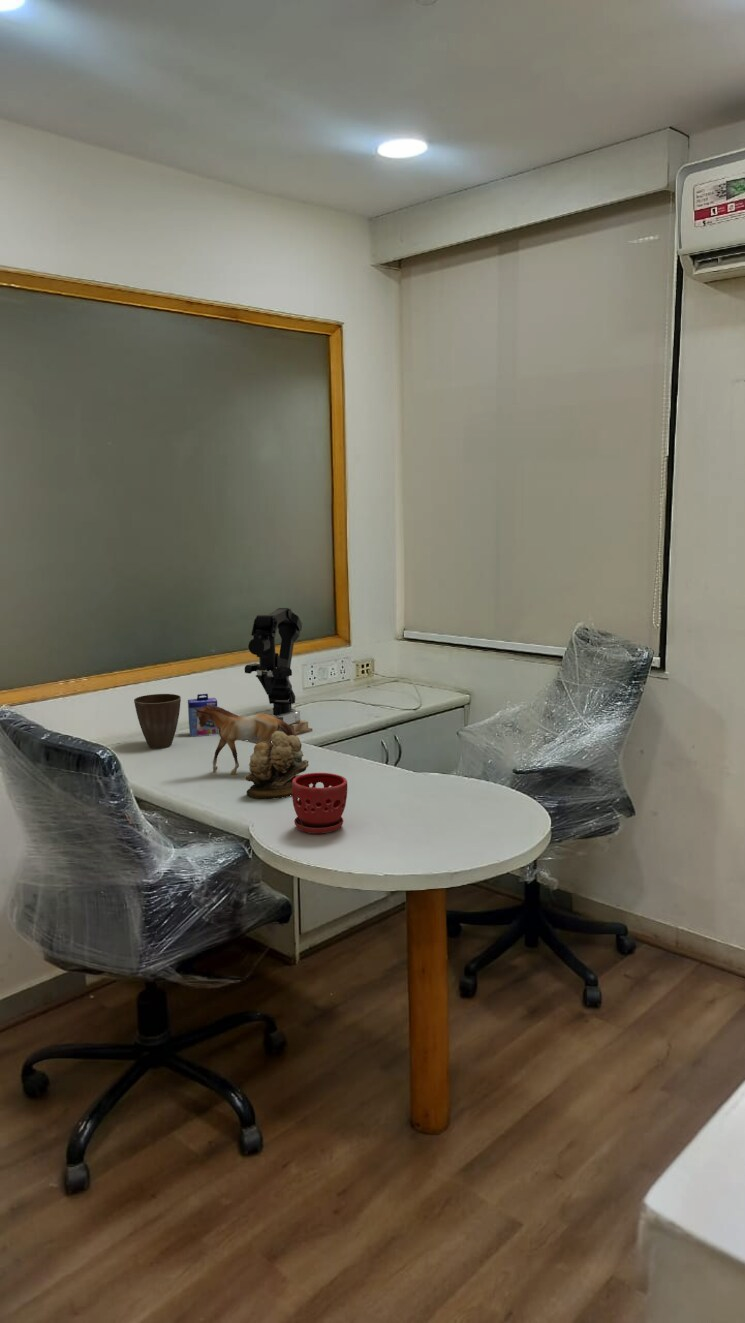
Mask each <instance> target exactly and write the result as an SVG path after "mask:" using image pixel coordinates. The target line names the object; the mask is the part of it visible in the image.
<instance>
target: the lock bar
mask: <svg viewBox="0 0 745 1323" xmlns="http://www.w3.org/2000/svg"><path fill="white" fill-rule="evenodd" d="M273 717H275V718H278V717H283V721H284V722H285V723H287V724H288V725H289V724H292V723H297V722H300V720H301V711H300V710H292V711H291V712H289V713H285V714H281V715H277V716H273Z"/></svg>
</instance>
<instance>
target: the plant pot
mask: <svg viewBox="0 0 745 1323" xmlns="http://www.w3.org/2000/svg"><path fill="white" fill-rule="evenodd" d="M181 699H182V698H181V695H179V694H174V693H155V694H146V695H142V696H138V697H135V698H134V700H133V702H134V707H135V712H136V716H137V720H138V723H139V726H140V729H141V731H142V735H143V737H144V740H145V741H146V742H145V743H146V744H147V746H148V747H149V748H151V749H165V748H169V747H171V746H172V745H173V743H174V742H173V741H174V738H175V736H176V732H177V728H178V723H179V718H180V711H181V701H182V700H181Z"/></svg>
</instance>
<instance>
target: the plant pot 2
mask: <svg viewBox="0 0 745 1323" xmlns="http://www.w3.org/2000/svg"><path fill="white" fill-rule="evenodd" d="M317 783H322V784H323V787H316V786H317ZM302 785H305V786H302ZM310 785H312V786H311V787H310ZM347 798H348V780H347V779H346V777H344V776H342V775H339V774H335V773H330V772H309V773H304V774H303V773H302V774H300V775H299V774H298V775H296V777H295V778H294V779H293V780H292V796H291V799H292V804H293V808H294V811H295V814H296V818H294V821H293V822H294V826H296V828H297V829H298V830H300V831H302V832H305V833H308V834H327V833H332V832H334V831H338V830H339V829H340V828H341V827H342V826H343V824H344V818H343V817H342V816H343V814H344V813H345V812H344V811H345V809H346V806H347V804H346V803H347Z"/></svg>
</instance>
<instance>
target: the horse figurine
mask: <svg viewBox="0 0 745 1323" xmlns="http://www.w3.org/2000/svg"><path fill="white" fill-rule="evenodd" d="M194 709H195V710H197V711H196V716H197V729H198V730H199V731H202V730H203V729H204V725H205V724H206V722H207V721H208V720H209V719H211V720H212V721H213V723H214V724H215V726H216V727H217V728H218V733H219V734H218V735H219V737H220V739H219V742H218V745H217V747H216V749H215V752H214V757H213V760H212V771H213V772H214V773H215V772H217V770H218V768H219V767H218V765H217V760H218V755H219V754H220V752H221V750H223V748H224V747H225V746H226V745H227V746H228V748H229V749H230V751H231V754H232V757H233V760H234V764H235V766H234V767H233V769H232V770H231V772H230V775H237V773H238V768H239V767H240V764H239V760H238V753H237V747H236V743H235V742H236V741H244V740H247V739H252V738H254V737H258V739H259V740H260V741H261V742H263V743H266V744H268V745H269V746H270V747H271V749H272V747H273V743H271V742H270V739H271V735H272V734H273V733H274V732H276V731H280V728H281V729H283V731H284V733H285V734H286V735H287V736H290V735H294V736H296V734H295V732H294V731H293V729H292V728H291V727H290V725H288V724H287V723H285V722H284V721H282V720H280V719H277V718H275V717H273V716H271V715H272V714H269V715H268V714H267V713H261V712H260V713H258V714H254V715H250V716H239V715H238V714H235V713H233V712H231V711H229V710H226V709H225V708H222V707H219V706H217V707H216V706H211V705H207V706H203V707H201V708H199V709H198V708H194ZM302 757H304V754H302Z"/></svg>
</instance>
